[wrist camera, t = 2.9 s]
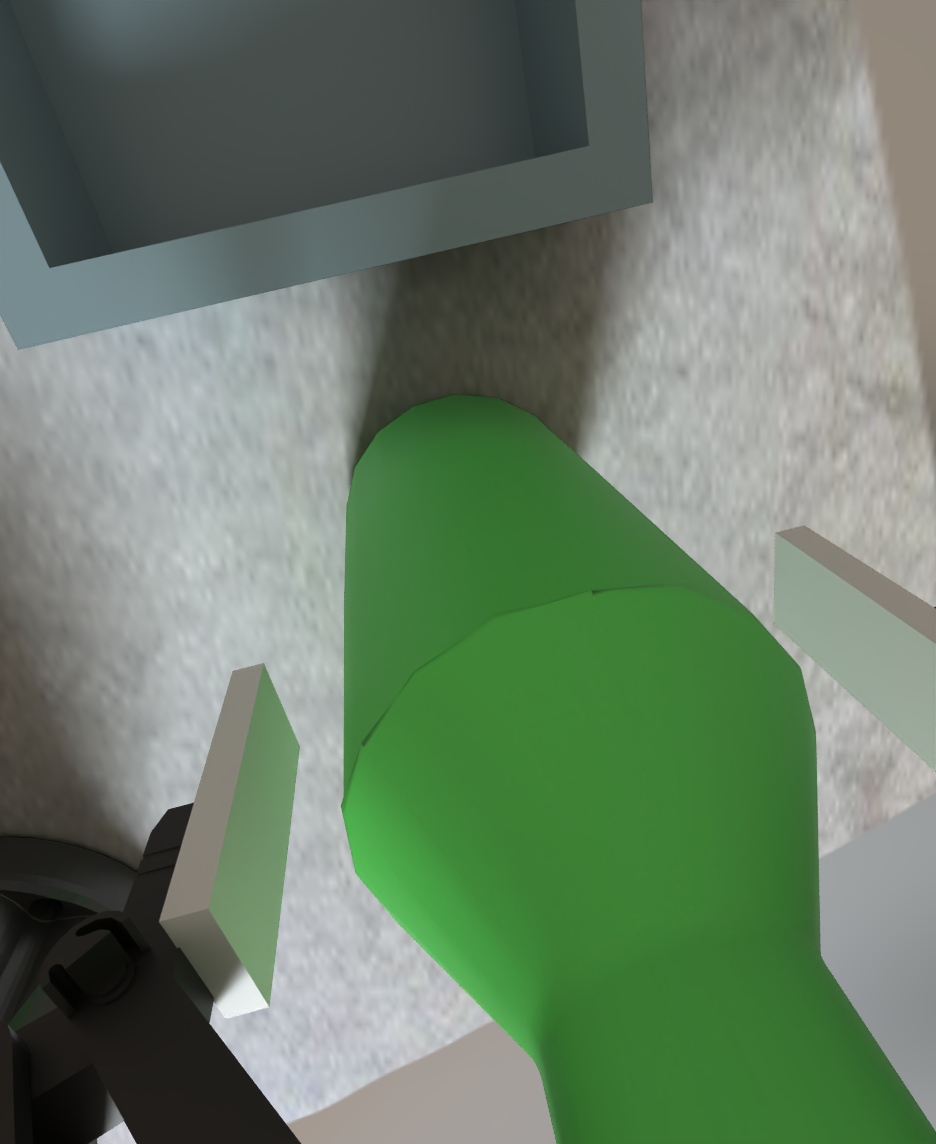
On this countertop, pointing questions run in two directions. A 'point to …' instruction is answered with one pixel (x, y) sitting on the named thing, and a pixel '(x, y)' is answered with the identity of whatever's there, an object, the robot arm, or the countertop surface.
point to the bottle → (594, 795)
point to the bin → (294, 142)
